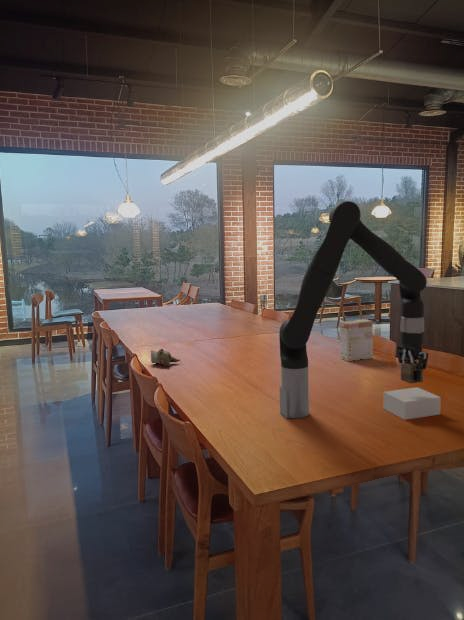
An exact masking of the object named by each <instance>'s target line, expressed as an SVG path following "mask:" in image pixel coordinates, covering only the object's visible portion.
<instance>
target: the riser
mask: <svg viewBox="0 0 464 620" xmlns="http://www.w3.org/2000/svg"><path fill="white" fill-rule="evenodd" d="M382 394H383V395H382V396H383V397H382V398H383V399H382V405H383V406H382V407H383V408H382V409H384V410H386V411H388V412H389V413H391V414H393V415H395V416H397V417H399V418H401V419H402V420H404V421H405V420H411V419H413V420H414V419H419V418H420V419H421V418H425V417H430V416H436V415H437V416H439V415H441V403H442V402H441V400H442V399H441V396H438V395H436V394H434V393H432V392H429V391H428V390H424V389H423V388H420V387H418V386H417V387H411V388H409V387H408V388H402V389H401V388H400V389H394V390H386V391H383V393H382Z"/></svg>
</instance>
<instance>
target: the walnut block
mask: <svg viewBox="0 0 464 620" xmlns="http://www.w3.org/2000/svg"><path fill="white" fill-rule="evenodd" d="M416 365H417V367H418V363H416ZM422 366H423V364H422ZM400 380H401V381H402V382H403V381H404V382H406V383H407V384H408V383H409V384H416V383H417V384H418V383H424V370H421V379H420V381H414V366H413V364H412V363H411V362H405V363H404V362H403V363H400Z"/></svg>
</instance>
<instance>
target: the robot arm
mask: <svg viewBox="0 0 464 620" xmlns="http://www.w3.org/2000/svg"><path fill="white" fill-rule="evenodd" d="M361 215H362V214H361V210H360V207H359V206H358V205H357V203H355V202H354V201H351V200H347V201H342V202H339V203H337V204H336V205H334V207H332V209H331V210H330V211H329V214H328V218H329V219H328V221H329V226H328V229H327V232H326V234H325V237H324V238H323V241H322V243H321V244H320V245H319V247H318V248H317V250H316V252H315V253H314V255H313V257H312V259H311V261H310V262H309V264H308V266H307V269H306V271H305V274H304V276H303V279H302V282H301V286H300V290H299V295H298V300H297V304H296V307H295V309H294V311H293V313H292V315H291V316H290V318H287V319H286V320H285V321H283V322H282V323H281V325H280V328H279V331H278V333H279V336H278V337H279V355H280V369H281V372H280V373H281V375H280V377H281V386H279V413H280V414H281V415H282V416H283V417H285V419H303V418H306V417H308V416H309V414H310V405H309V404H310V403H309V401H310V400H309V398H310V397H309V396H310V395H309V393H310V392H309V390H310V389H309V357H308V351H307V343H308V341H309V340H310V335H311V333H312V329H313V327H314V324H315V320H316V317H317V314H318V312H319V310H320V308H321V306H322V304H323V302H324V300H325V298H326V296H327V294H328V292H329V289H330V288H331V285H332V283H333V281H334V279H335V276H336V273H337V271H338V268H339V265H340V263H341V260H342V257H343V255H344V251H345V249H346V246H347V244H348V243H349V241H350V240H351V241H353V242H354V243H355V244H356V245H358V246H359V247H360V248H361V249H362V250H363V251H364V252H366V254H367V255H369V256H370V258H372V260H374V261H375V262H376V263H377V264H378V266H380V267H381V268H382V269H383V270H384V271H385V272H387V273H388V274H389V275H391V276H393V277H394V278H395V279H396V280H397V281H398V285H399V288H398V289H399V295H400V301H401V305H400V306H401V309H400V310H401V311H400V314H401V315H400V316H401V317H400V323H399V324H400V329H399V331H400V336H399V337H400V338H399V340H400V344H402V345H398V346H396V352H397V358H398V360H397V361H398V363H399V364H401V363H403V362H404V363H405V362H411V363H412V364H413V366H414V381H420V379H421V370H423V371H424V370H426V369H427V365H428V361H429V360H428V359H429V352H423V349H422V348H423V347H422V345H424V344H425V320H424V319H425V318H424V305H425V304H424V301H423V300H422V299H421V298H422V297H421V292H422V291H424V290H425V288H426V287H427V283H428V280H427V278H426V276H425V274H424V273H423V272H422V271H421V270H420V269H418V268H417V267H416V266H414V265H413V264H411V263H410V262H409V261H407V260H406V259H405V258H404V256H403V255H401V253H400V252H398V251H397V250H396V249H395V247H393V246H392V245H391V244H389V243H388V242H387V241H386V240H384V239H383V238H381V237H380V236H378V235H377V234H376V233H374V232H372V231H371V230H370V228H368V226H366V225H365V224H364V223H363V222H362V220H361V217H362V216H361ZM416 363H418V367H417V365H416ZM422 364H423V366H422Z"/></svg>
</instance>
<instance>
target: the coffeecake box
mask: <svg viewBox="0 0 464 620" xmlns="http://www.w3.org/2000/svg"><path fill="white" fill-rule="evenodd" d="M339 323H340V324H339V330H340V331H339V332H340V333H339V335H340V339H339V340H340V342H339V343H340V359H341V358H342V359H344V360H343V361H345V360H346V362H347V361H348V362H353V360H355V361H361V360H360V359H363V360H369V359H373V351H374V350H373V347H374V346H373V340H374V339H373V338H374V335H373V320H369V319H367V318H364V319H355V320H344V321H340V322H339ZM342 359H341V360H342Z"/></svg>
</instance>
